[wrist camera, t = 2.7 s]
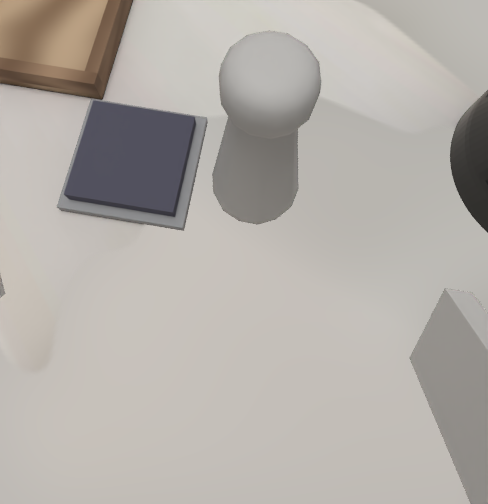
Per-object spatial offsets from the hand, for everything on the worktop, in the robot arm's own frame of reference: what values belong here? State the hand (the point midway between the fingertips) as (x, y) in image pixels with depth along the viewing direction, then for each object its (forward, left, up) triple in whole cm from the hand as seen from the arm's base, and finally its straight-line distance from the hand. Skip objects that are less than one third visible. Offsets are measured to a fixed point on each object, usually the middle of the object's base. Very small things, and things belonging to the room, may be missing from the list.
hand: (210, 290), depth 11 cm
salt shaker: (-1, -9, -14) cm, 17 cm away
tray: (+18, -21, -14) cm, 32 cm away
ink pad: (+8, -10, -14) cm, 19 cm away
